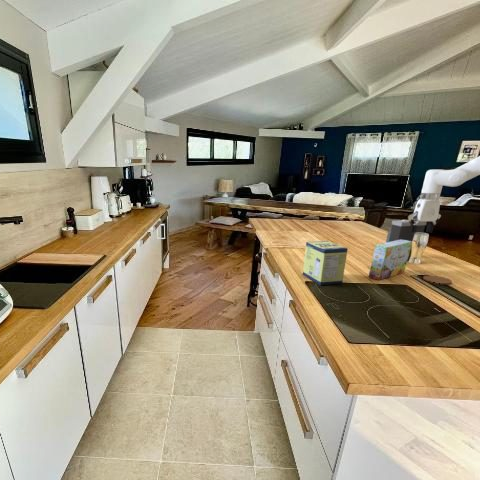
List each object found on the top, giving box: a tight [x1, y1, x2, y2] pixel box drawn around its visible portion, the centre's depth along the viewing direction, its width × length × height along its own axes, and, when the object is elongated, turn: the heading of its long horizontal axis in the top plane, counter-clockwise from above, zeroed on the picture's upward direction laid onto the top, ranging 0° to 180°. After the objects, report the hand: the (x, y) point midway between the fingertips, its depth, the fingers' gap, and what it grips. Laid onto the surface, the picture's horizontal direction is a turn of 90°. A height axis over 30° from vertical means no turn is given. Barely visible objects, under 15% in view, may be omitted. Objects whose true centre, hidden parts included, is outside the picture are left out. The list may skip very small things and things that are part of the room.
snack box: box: [368, 240, 412, 281], centre depth 140 cm, size 21×6×15 cm, turn 122°
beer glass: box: [407, 232, 430, 265], centre depth 158 cm, size 7×7×15 cm
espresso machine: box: [385, 219, 428, 258], centre depth 166 cm, size 9×14×21 cm, turn 100°
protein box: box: [302, 240, 348, 286], centre depth 136 cm, size 10×16×16 cm
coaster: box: [422, 275, 453, 286], centre depth 135 cm, size 10×10×1 cm
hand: (420, 232), depth 156 cm, fingers open, 9 cm apart
